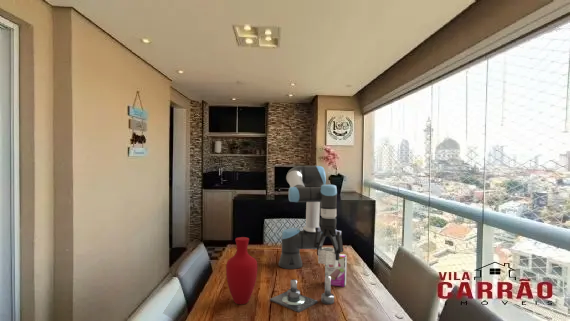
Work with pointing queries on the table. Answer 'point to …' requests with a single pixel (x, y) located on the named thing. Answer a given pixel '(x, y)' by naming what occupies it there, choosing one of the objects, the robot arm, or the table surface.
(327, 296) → the stand
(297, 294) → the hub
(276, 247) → the table surface
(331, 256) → the bushing
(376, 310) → the table surface
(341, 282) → the candy bar box
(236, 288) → the vase
